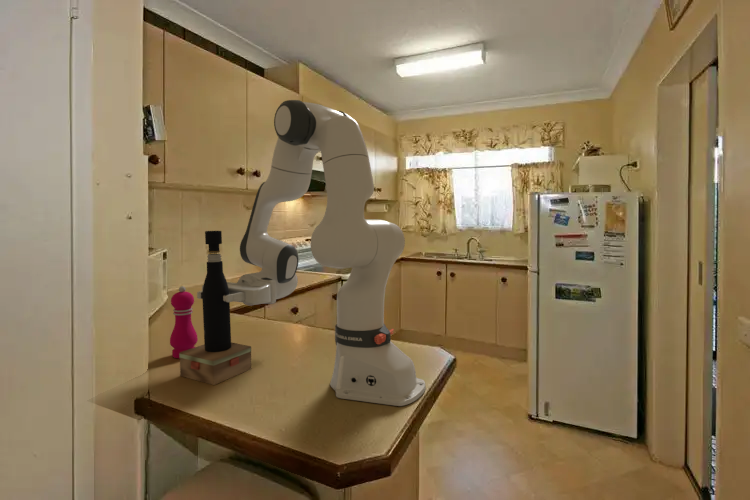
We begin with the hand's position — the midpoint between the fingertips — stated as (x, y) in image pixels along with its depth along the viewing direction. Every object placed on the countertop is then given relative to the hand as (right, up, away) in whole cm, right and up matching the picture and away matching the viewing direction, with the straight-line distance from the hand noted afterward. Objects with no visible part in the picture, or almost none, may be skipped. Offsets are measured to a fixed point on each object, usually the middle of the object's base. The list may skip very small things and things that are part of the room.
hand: (211, 297), depth 102 cm
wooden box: (0, -19, +2) cm, 20 cm away
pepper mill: (-14, -19, +15) cm, 28 cm away
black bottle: (+1, -14, +2) cm, 14 cm away
